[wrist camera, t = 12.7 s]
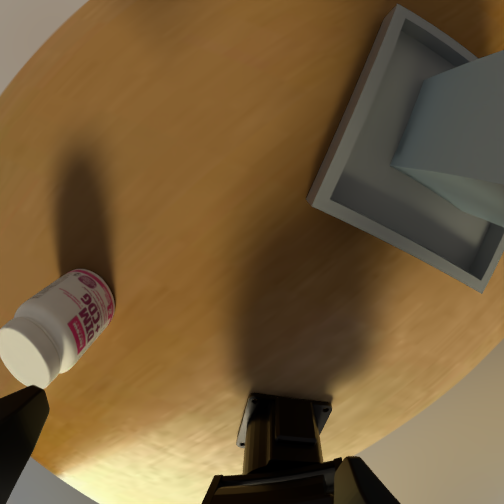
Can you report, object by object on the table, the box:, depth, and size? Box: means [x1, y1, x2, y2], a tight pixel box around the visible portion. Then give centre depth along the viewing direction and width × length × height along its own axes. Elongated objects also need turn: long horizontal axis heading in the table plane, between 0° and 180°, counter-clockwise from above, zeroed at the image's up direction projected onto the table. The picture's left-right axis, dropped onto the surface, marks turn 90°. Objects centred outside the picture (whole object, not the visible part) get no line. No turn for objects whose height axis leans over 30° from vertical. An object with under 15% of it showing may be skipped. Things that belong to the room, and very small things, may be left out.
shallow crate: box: [306, 4, 504, 294], centre depth 16 cm, size 13×13×2 cm
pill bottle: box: [0, 269, 115, 389], centre depth 17 cm, size 5×5×8 cm
